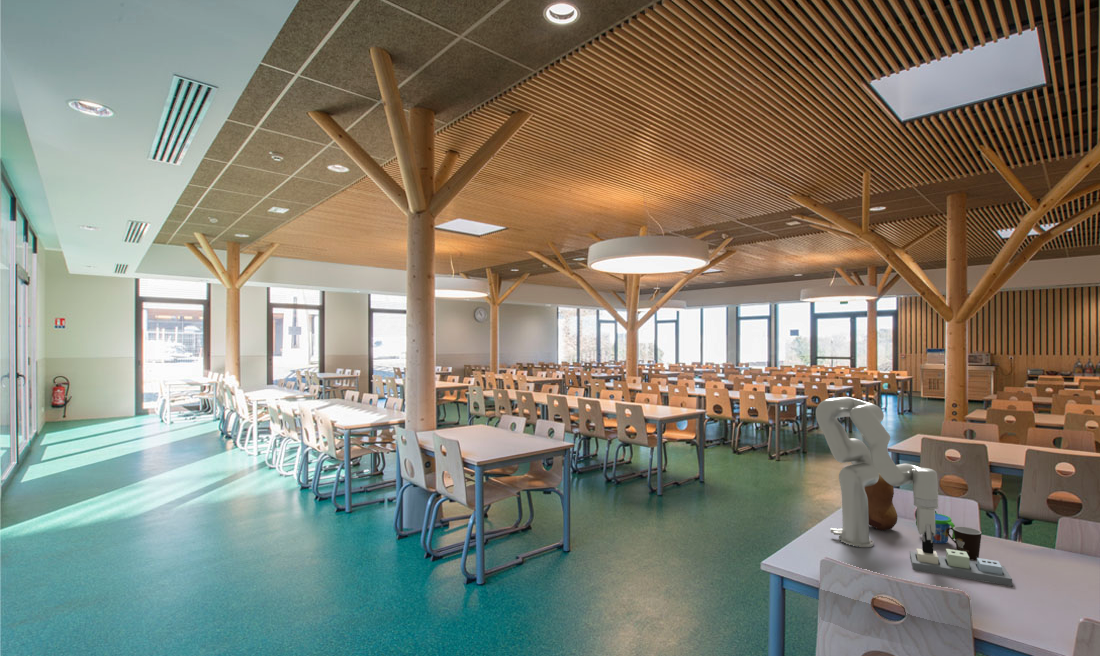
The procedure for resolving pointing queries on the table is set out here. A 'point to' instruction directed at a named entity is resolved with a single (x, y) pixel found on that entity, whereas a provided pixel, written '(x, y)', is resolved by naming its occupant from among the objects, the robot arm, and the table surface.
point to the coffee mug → (967, 540)
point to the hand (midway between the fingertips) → (927, 552)
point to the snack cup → (942, 528)
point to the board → (960, 570)
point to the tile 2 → (989, 566)
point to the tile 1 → (927, 557)
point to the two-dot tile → (957, 558)
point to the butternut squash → (881, 505)
